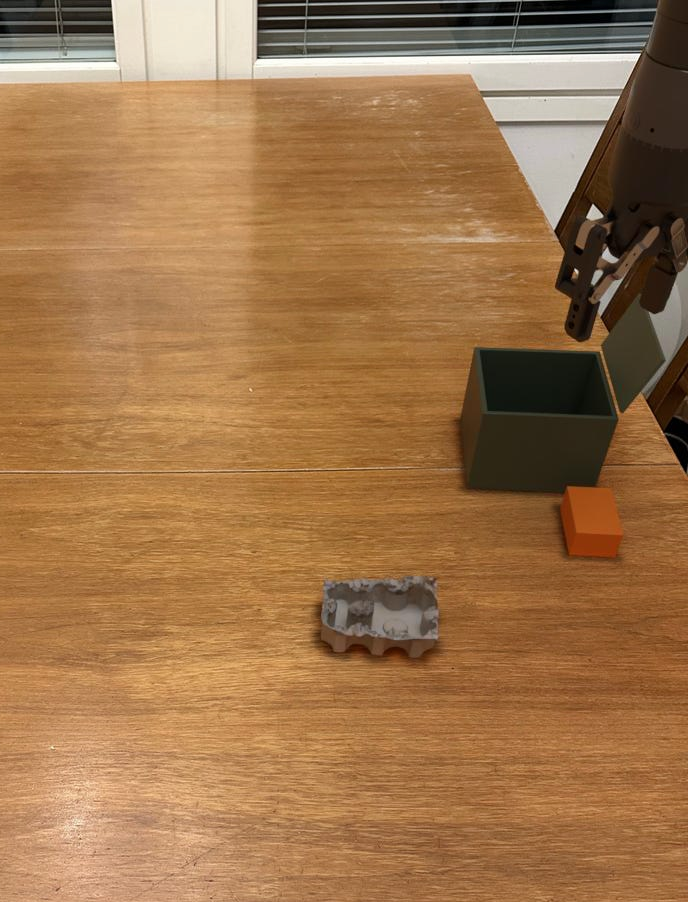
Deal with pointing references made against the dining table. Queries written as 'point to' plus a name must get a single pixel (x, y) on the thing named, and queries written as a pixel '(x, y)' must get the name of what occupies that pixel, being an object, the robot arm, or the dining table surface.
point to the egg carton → (381, 614)
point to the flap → (632, 354)
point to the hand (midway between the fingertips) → (614, 323)
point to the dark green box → (536, 419)
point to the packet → (591, 521)
